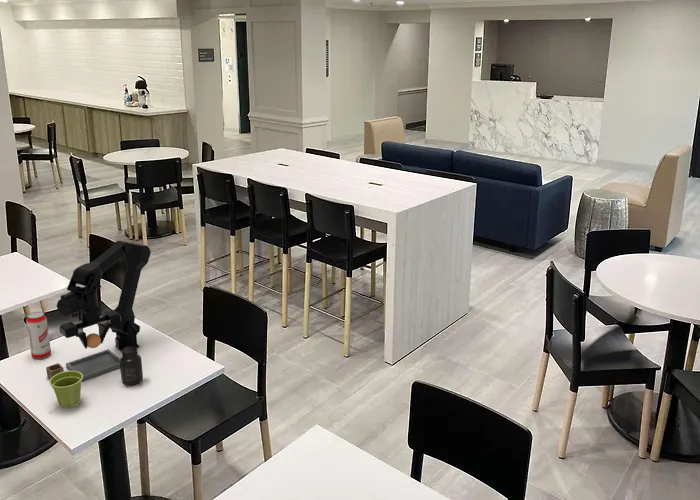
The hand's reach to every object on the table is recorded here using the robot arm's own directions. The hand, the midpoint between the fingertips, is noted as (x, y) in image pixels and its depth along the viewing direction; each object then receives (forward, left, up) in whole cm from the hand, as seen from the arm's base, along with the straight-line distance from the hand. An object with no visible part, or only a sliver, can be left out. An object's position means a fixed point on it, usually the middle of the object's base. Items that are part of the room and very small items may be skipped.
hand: (93, 345), depth 205 cm
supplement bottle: (-5, +16, -9) cm, 19 cm away
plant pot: (+15, +15, -9) cm, 23 cm away
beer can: (+11, -20, -9) cm, 24 cm away
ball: (0, 0, +2) cm, 2 cm away
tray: (0, 0, -8) cm, 8 cm away
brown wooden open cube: (+13, -2, -8) cm, 15 cm away
